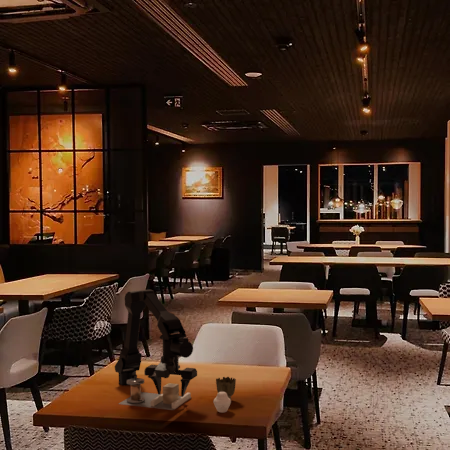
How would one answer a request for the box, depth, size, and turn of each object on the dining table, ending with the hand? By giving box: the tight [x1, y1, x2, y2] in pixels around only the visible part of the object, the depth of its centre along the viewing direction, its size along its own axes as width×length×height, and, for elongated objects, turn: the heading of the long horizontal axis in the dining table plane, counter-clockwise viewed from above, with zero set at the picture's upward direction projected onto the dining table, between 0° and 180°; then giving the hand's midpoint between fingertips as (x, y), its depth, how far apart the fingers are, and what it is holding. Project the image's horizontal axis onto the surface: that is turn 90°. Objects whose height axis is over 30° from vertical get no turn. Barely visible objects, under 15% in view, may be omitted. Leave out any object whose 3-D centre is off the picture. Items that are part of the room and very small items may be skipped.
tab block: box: [162, 382, 180, 404], centre depth 233 cm, size 4×5×6 cm
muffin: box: [212, 392, 232, 413], centre depth 226 cm, size 6×6×7 cm
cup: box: [215, 376, 237, 401], centre depth 238 cm, size 8×7×8 cm
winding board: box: [118, 391, 192, 411], centre depth 235 cm, size 22×16×3 cm
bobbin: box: [126, 377, 145, 404], centre depth 234 cm, size 6×6×8 cm
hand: (170, 395), depth 233 cm, fingers open, 9 cm apart
